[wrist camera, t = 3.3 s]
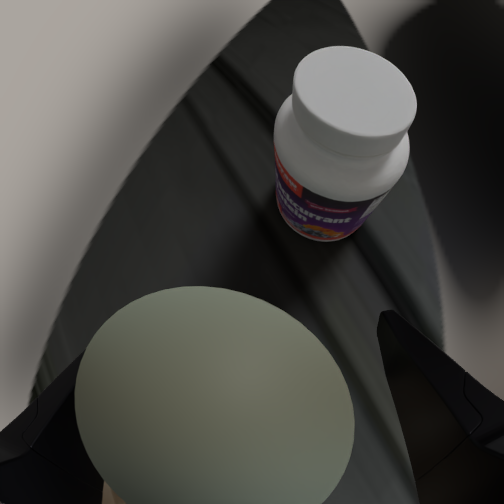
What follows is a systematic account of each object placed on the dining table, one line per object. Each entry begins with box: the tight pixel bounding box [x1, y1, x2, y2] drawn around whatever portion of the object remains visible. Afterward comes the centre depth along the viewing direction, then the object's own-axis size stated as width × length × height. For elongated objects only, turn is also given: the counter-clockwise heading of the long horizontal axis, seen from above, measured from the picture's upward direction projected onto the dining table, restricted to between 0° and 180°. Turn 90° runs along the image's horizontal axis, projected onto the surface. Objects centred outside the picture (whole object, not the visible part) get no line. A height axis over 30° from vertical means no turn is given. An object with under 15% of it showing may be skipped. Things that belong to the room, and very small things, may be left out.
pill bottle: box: [274, 46, 417, 242], centre depth 13 cm, size 5×5×10 cm
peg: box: [75, 286, 355, 504], centre depth 10 cm, size 4×4×12 cm
